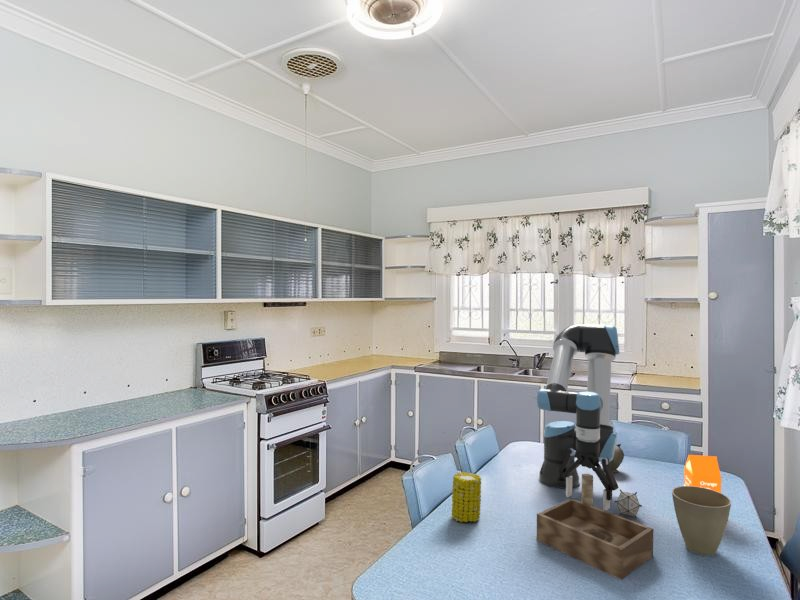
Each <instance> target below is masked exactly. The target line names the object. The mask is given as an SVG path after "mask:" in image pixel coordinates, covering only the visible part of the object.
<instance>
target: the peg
mask: <svg viewBox="0 0 800 600" xmlns="http://www.w3.org/2000/svg"><path fill="white" fill-rule="evenodd" d="M580 498H581V501H580V502H583V503H585V504H588V505H591V506H593V507H594V475H593V474H590V473H582V474H581V497H580Z"/></svg>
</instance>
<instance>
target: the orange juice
mask: <svg viewBox="0 0 800 600" xmlns="http://www.w3.org/2000/svg"><path fill="white" fill-rule="evenodd" d="M683 468H684V469H683V470H684V472H683V473H684V475H683V486H696V487H702V488H707V489H711V490H714V491H717V492H720V493H722V474H721V470H720V466H719V462H718V456H717V455H715V456H713V455H696V454H688V456H687V459H686V461H685V465H684V467H683Z"/></svg>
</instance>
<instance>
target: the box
mask: <svg viewBox="0 0 800 600" xmlns="http://www.w3.org/2000/svg"><path fill="white" fill-rule="evenodd" d="M536 541H538V542H539V543H542V544H545V545H546V546H548V547H551V548H553V549H555V550H557V551H559V552H561V553H563V554H565V555H567V556H569V557H572V558H574V559H576V560H578V561H580V562H582V563H584V564H587V565H588V566H590V567H593V568H595V569H596V570H599V571H601V572H604V573H605V574H606V575H607V574H608V575H610V576H612V577H614V578H616V579H618V580H620V581H622V580H623V579H624V578H626V577H627V576H629V575H630V574H631V573H632V572H634V571H635V570H637V569H638V568H640V567H641V566H642V565H644V564H645V563H646V562H648V561H649V560H650V559H652V558H653V557H654V528H652V527H650V526H647V525H644V524H642V523H639V522H636V521H633V520H630V519H628V518H625V517H623V516H621V515H620V516H619V515H617V514H614V513H612V512H610V511H608V510H603V509H601V508H599V507H596V506H594V505H593V506H591V505H588V504H585V503H583V502H581V501H579V500H576V499H574V498H572V497H570V498H568V499H566V500H564V501H562V502H560V503H557V504H556V505H554V506H552V507H550V508H547V509H544V510H543V511H540V512H538V513H536Z"/></svg>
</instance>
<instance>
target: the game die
mask: <svg viewBox="0 0 800 600" xmlns="http://www.w3.org/2000/svg"><path fill="white" fill-rule="evenodd" d="M619 492H620V493H619V496H618V498H617V500H614V503H615V504H616V505H617V507H618V510H619V515H618V516H620V517H621V516H622V515H626V516H633V517H634V518H635V519H638V517H637V513H638V512H639V509H640V508H642V507H643V505H642V504H640V502H639V499H638V497H637V493H638V492H637V491H635V492H634V493H632V492H626V491H622V489H619Z"/></svg>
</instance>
